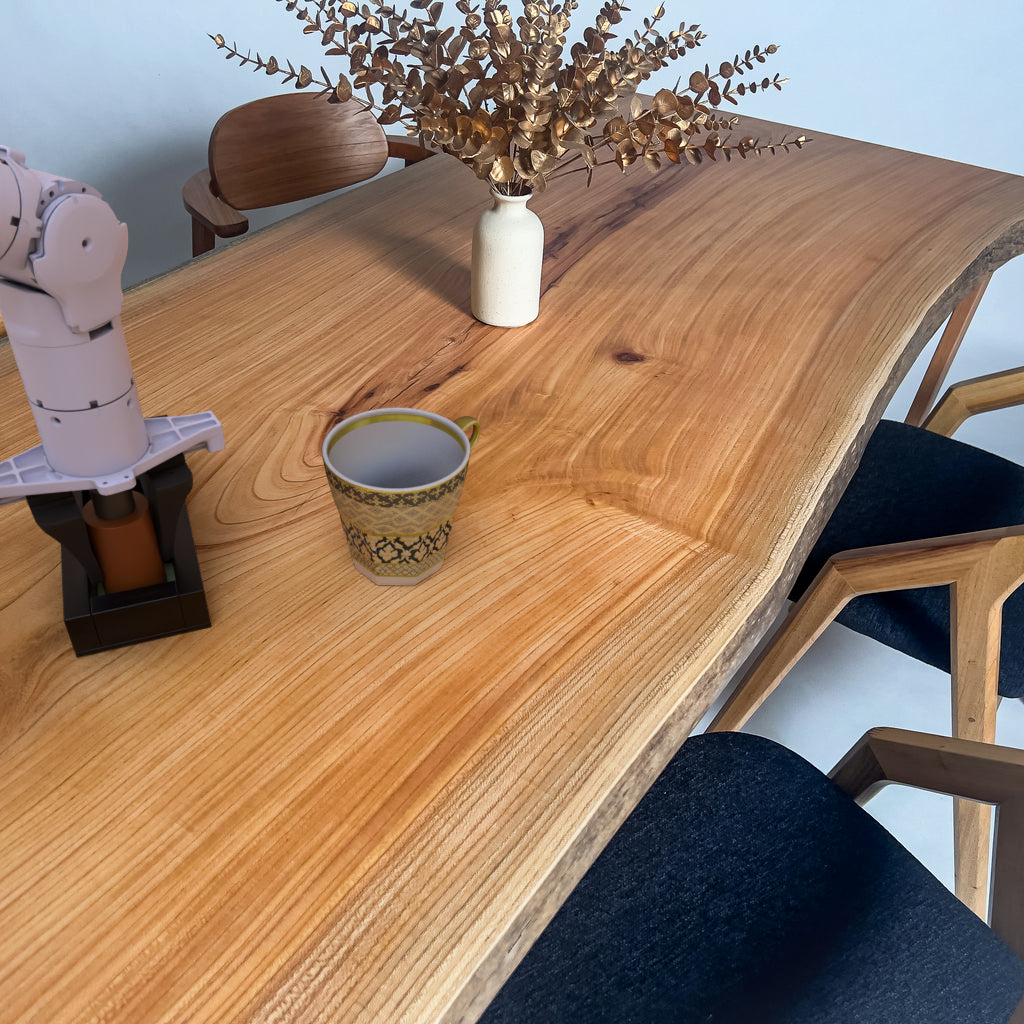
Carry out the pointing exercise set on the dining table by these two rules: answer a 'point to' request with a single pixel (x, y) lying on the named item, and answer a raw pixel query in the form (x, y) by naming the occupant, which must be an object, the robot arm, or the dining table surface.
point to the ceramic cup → (398, 488)
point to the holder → (134, 598)
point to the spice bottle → (124, 540)
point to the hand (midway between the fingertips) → (129, 562)
